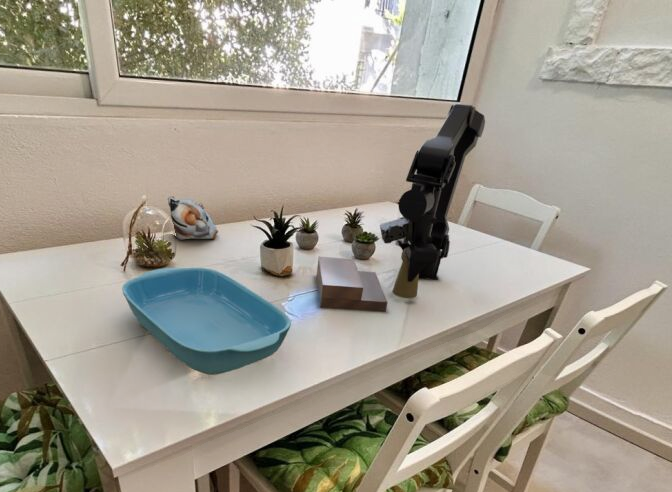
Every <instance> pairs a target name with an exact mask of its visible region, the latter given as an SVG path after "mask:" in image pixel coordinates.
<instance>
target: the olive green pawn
mask: <svg viewBox="0 0 672 492" xmlns="http://www.w3.org/2000/svg"><path fill="white" fill-rule="evenodd" d="M407 249H408V247H407V248H405V249H404V250H402V251H401V257H400V259H401V261H402V262H401V265H400V267H399V271H398V274H397V277H396V279H395V283H394V285H393V287H392V290H391V292H392V294H393V295H395V296H396V297H398V298H403V299H414V298H416V297H417V296H418V288H419V274H418V275H417V276H416V277H415V279H414V280H413V281H412V282H408V261H409V260H408V259H407V257H406V256H405V254H404V252H406V253H407Z"/></svg>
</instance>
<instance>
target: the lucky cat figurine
mask: <svg viewBox="0 0 672 492" xmlns="http://www.w3.org/2000/svg"><path fill="white" fill-rule="evenodd" d="M167 204H168V206H169V209H170V218H171V219H172V222H173V224H174V229H175V233H176V237H175V238H176V239H178V240H180V241H183V240H189V239H195V240H196V239H198V240H199V239H205V240H206V239H207V240H208V239H209V240H215V239H216V237H217V234H218V233H219V230H218V228H217V227H216V224H214V222H213V221H212V218H211V216H210V215H209V214H208V213H207V212H206V211H205V209H204V208H205V206H204V205H203V203H197V202H195V201H194V200H191V199H190V198H186V197H182V198H178V199H176V198H175V197H174V195H173V196H172V195H171V196H168V197H167Z"/></svg>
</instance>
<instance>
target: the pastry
mask: <svg viewBox="0 0 672 492" xmlns="http://www.w3.org/2000/svg"><path fill="white" fill-rule="evenodd" d="M291 266H292V265H291ZM291 266H287V267H286V268H285V269H284V270H282V272H281V273H280V274H279V273H276V272H274V271H271V270H268V269H265V268H264V270H265V271H267V272H269V273H270V274H272V275H274V276H279V277H284V276H290V275H291V274H292V273H293V267H292V268H291Z"/></svg>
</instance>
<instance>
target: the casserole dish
mask: <svg viewBox="0 0 672 492" xmlns="http://www.w3.org/2000/svg"><path fill="white" fill-rule="evenodd" d="M121 291H122V294H123V296H124V298H125V300H126V302H127V304H128V306H129V308H130V310H131V312H132V313H133V315H134V317H135V319H137V321H138V322H139V323H140V325H142V326H143V327H144V329H146V330H147V331H148V332H149V333H150V335H152V336H153V337H154V338H155V339H156V340H157V341H158V342H159V343H160V344H161V345H163V347H164V348H165V349H167V350H168V351H169V352H170V354H172V355H173V356H174V357H175V358H176V359H177V360H179V361H181V363H183V364H184V365H186V366H187V367H189V368H190V369H192V370H194V371H196V372H198V373H200V374H201V373H202V374H204V375H208V376H210V375H211V376H217V375H221V374H225V373H229V372H232V371H235V370H239V369H241V368H244V367H245V366H249V365H251V364H255V363H257V362H259V361H260V362H261V361H263V360H264V359H267V358H269V357H270V356H272V355H274V354H275V353H277V351H278V350H279V349H280V347H281V346H282V344H283V343H284V341H285V339H286V337H287V334H288V332H289V330H290V328H291V326H292V321H291V318H290V317H289V315H288V314H287V313H286V312H284V311H283V310H282V309H281V308H279V307H278V306H276V305H275V304H273V303H272V302H270V301H269V300H268V299H266V298H264V297H263V296H261V295H259V293H256V292H254V291H253V290H252V289H250V288H248V287H247V286H245V285H243V284H242V283H240V282H239V281H237V280H235V279H234V278H232V277H231V276H229V275H227V274H225V273H223V272H221V271H219V270H216V269H212V268H207V267H164V268H158V269H152V270H150V271H146V272H144V273H142V274H141V275H139V276H138V277H137V276H136V277H134V278H132V279H130V280H127V281H126V282H124V284H123V285H122V287H121Z"/></svg>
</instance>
